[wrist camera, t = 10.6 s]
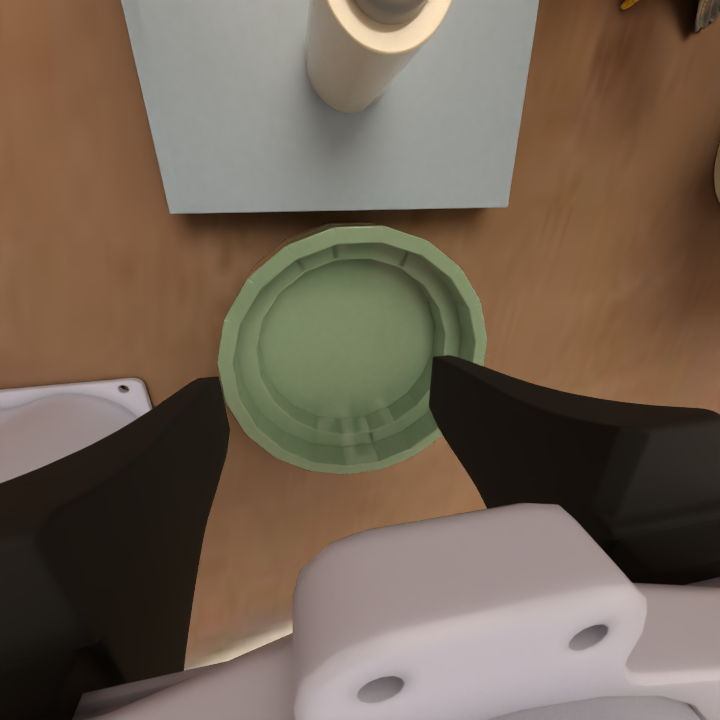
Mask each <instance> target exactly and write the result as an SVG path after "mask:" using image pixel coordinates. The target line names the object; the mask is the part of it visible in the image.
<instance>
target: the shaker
mask: <svg viewBox="0 0 720 720" xmlns="http://www.w3.org/2000/svg"><path fill="white" fill-rule="evenodd" d="M451 3H452V0H309V6H308V17H307V28H306V38H305V49H304V58H305V66H306V71H307V74H308V77H309V80H310V82H311V85H312V87H313V88H314V90H315V92H316V93H317V94H318V96H319V97H320V98H321V99H322V100H323V101H324V102H325V103H326V104H327V105H328V106H330V107H332V108H333V109H335V110H337V111H340V112H344V113H357V112H361V111H364V110H366V109H368V108H369V107H371V106H372V105H373V104H375V102H376V101H377V100H378V99H379V98H380V97H381V96H382V95H383V93H384V92H385V91H386V90H387V89H388V87H389V86H390V85H391V84H392V83H393V82H394V80H395V79H396V78H397V77H398V76H399V74H400V73H401V72H402V71H403V70H404V69H405V67H406V66H407V65H408V64H409V63H410V61H411V60H412V59H413V58H414V57H415V56H416V54H417V53H418V52H419V51H420V50H421V48H422V47H423V46H424V45H425V44H426V43H427V41H428V40H429V39H430V38H431V37H432V35H433V34H434V33H435V32H436V31H437V29H438V28H439V26H440V25H441V24H442V22H443V20H444V18H445V16H446V15H447V12H448V10H449V8H450V5H451Z"/></svg>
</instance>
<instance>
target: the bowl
mask: <svg viewBox="0 0 720 720" xmlns="http://www.w3.org/2000/svg"><path fill="white" fill-rule="evenodd" d="M486 345H487V335H486V329H485V324H484V318H483V312H482V306H481V303H480V300H479V298H478V296H477V294H476V293H475V291H474V289H473V287H472V286H471V284H470V282H469V281H468V279H467V277H466V275H465V274H464V272H463V270H462V269H461V268H460V266H459V265H457V264H456V263H455V262H454V261H452V260H451V259H450V258H449V257H448V256H446V255H445V254H444V253H443V252H441V251H440V250H439V249H438V248H436V247H435V246H434V245H433V244H432V243H430V242H429V241H427V240H425V239H422V238H419V237H416V236H413V235H410V234H407V233H404V232H401V231H398V230H395V229H392V228H389V227H386V226H382V225H378V224H374V223H370V222H369V223H368V222H347V223H327V224H323V225H320V226H317V227H315V228H312V229H310V230H307V231H304V232H302V233H299V234H296V235H294V236H291V237H289V238H288V239H285V240H284V241H283V242H282V243H281V244H279V245H278V246H277V247H276V248H275V249H273V250H272V251H271V252H270V253H269V254H268V255H266V256H265V257H264V258H263V259H262V260H261V261H259V262H258V263H257V264H256V265H255V266H254V268H253V269H252V271H251V273H250V275H249V276H248V278H247V280H246V282H245V283H244V285H243V287H242V289H241V290H240V292H239V294H238V296H237V297H236V299H235V301H234V303H233V304H232V306H231V308H230V310H229V311H228V313H227V315H226V317H225V319H224V322H223V328H222V334H221V341H220V347H219V353H218V359H217V362H218V363H217V364H218V369H219V374H220V379H221V383H222V388H223V393H224V397H225V401H226V404H227V405H228V407H229V408H230V410H231V412H232V413H233V415H234V416H235V418H236V419H237V421H238V423H239V424H240V426H241V427H242V429H243V430H244V432H245V434H246V435H247V436H248V437H250V438H251V439H252V440H253V441H255V442H256V443H257V444H258V445H260V446H261V447H262V448H263V449H265V450H266V451H267V452H268V453H270V454H271V455H272V456H273V457H276V458H277V459H280V460H282V461H285V462H287V463H290V464H293V465H295V466H298V467H300V468H303V469H305V470H308V471H315V472H324V473H334V474H343V475H344V474H345V475H347V474H354V473H361V472H368V471H375V470H380V469H383V468H386V467H388V466H391V465H393V464H396V463H398V462H401V461H403V460H406V459H408V458H411V457H413V455H414V456H415V455H416V454H417V453H419V452H420V451H422V450H423V449H424V448H426V447H427V446H429V445H430V444H432V443H433V442H434V441H436V440H437V439H439V438H440V437H441V436H442V433H441V431H440V430H439V428H438V426H437V424H436V422H435V420H434V418H433V415H432V413H431V411H430V408H429V395H430V383H431V371H432V359H433V357H434V356H445V355H451V356H455V357H459V358H462V359H465V360H468V361H470V362H473V363H476V364H478V365H481V366H483V365H484V358H485V352H486Z"/></svg>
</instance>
